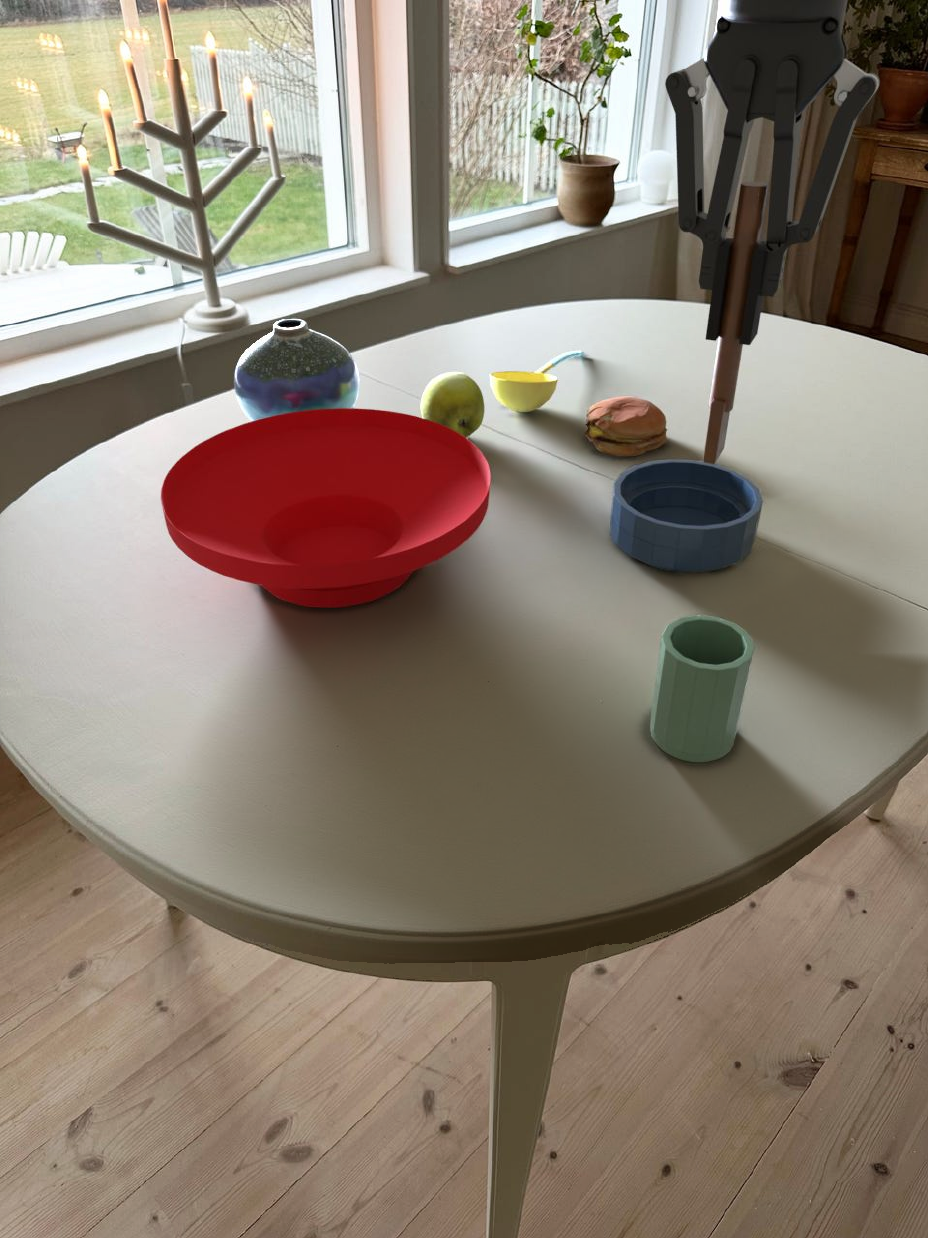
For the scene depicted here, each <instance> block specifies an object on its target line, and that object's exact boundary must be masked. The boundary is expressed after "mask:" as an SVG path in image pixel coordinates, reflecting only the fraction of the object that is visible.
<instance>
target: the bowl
mask: <svg viewBox="0 0 928 1238" xmlns="http://www.w3.org/2000/svg"><path fill="white" fill-rule="evenodd" d="M491 478H492V475H491V469H490V465H489V462H488V460H487V459H486V457H485V455H484V453H483V452H482V450H481V449H479V448H478V447H477V445H476V444H474V443H473V442H472V441H471V440H470V439H468V437H466V438H465V437H464V436H463V435H461V434H459V433H458V432H456V431H454V430H452V429H450V428H448V427H446V426H444V425H441V424H438V423H436V422H433V421H430V420H427V419H423V417H419V416H417V415H413V414H408V413H403V412H397V411H391V410H382V409H372V408H355V407H354V408H336V409H317V410H307V411H299V412H292V413H286V414H280V415H276V416H271V417H267V418H262V419H259V420H255V421H249V422H245V423H242V424H240V425H237V426H233V427H231V428H229V429H226V430H224V431H221V432H219V433H217V434H215V435H213V436H211V437H209V438H207V439H205V440H203V441H202V442H200V443H198V444H197V445H195V446H194V447H192V448H191V449H190V450H189V451H187V452H186V453H185V454H183V455H182V456H181V457H180V458H179V459H178V460H177V461H176V462H174V464H173V465H172V467H171V468H170V470H169V471H168V472H167V474H166V476H165V478H164V479H163V482H162V485H161V490H160V503H161V507H162V513H163V516H164V521H165V525H166V529H167V532H168V534H169V537H170V538H171V540H172V542H173V543H174V544H175V546H176V547H177V548H178V549H179V550H180V551H181V552H182V553H183V554H184V555H185V556H186V557H188V558H189V559H190V560H192V562H193V561H194V562H195V563H196V564H197V565H199V566H202V567H203V568H205V569H207V570H209V571H211V572H214V573H216V574H219V575H221V576H224V577H227V578H230V579H234V580H236V581H241V582H245V583H250V584H253V585H259V586H262V588H263V589H264V590H266V591H267V592H269V593H270V594H271V595H272V596H274V597H275V598H277V599H279V600H282V601H284V602H288V603H291V604H295V605H299V606H302V607H308V608H346V607H350V606H355V605H360V604H365V603H370V602H372V601H376V600H377V599H380V598H382V597H384V596H387V595H388V594H390V593H392V592H394V591H395V590H397V589H398V588H400V587H401V586H402V585H403V584H404V583H406V581H407V580H408V579H409V577H410V576H411V575H412V574H413V572H414V571H416V570H420V569H421V568H424V567H426V566H428V565H430V564H433V563H435V562H437V561H439V560H440V559H442V558H444V557H446V556H448V555H449V554H450V553H452V552H453V551H455V550H457V549H458V548H459V547H461V546H462V545H463V544H465V542H467V541H468V540H469V539H470V538H471V537H472V536H473V535H474V534H475V532H476V531H477V530H478V529H479V527H480V526H481V525H482V523H483V521H484V519H485V517H486V515H487V512H488V510H489V502H490V493H491V491H490V490H491V480H492V479H491Z"/></svg>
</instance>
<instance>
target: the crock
mask: <svg viewBox="0 0 928 1238" xmlns="http://www.w3.org/2000/svg"><path fill="white" fill-rule="evenodd" d="M755 650H756V646H755V643H754V640H753V639H752V636H751V635H750V633H748V632H747V631H746V630H745V629H744V628H742V627H741V626H740V625H739V624H737V623H735V622H732V621H730V620H727V619H724V618H721V617H719V616H713V615H704V614H694V615H687V616H682V617H678V618H677V619H675V620H673V621H672V622H670V623H668V624H667V625H666V627H665V628H664V631H663V633H662V635H661V640H660V646H659V653H658V662H657V669H656V676H655V682H654V689H653V690H654V691H653V697H652V704H651V711H650V719H649V720H650V724H649V732H650V736H651V738H652V740H653V742H654V743H655V744H656V746H657V747H659V749H661V751H663V752H664V753H666V754H667V755H669V756H671V757H673V758H675V759H678V760H680V761H681V760H682V761H685V762H690V763H709V762H713V761H716V760H720V759H721V758H723V757H725V756H727V754H729V752H730V751H731V750H732V748H733V747H734V744H735V740H736V736H737V732H738V728H739V723H740V719H741V714H742V709H743V705H744V701H745V697H746V692H747V687H748V684H749V683H748V682H749V678H750V673H751V668H752V663H753V660H754V654H755Z"/></svg>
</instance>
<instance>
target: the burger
mask: <svg viewBox="0 0 928 1238" xmlns="http://www.w3.org/2000/svg"><path fill="white" fill-rule="evenodd" d="M584 425H585V426H586V428H587V429H586V430H585V431H583V435H585V436H586V437H587V438H588V441H589V442H590V444H591V443H592V444H594V446H595V449H596V450H597V451H599V452H600V453H602V454H606V455H609V456H610V455H611V456H613V457H614V456H615V457H623V458H626V457H628V458H629V457H637V456H640V455H643V454H645V453H646V452H649V451H654V450H656V449H658V448H660V447H662V446H663V445H665V444H666V442H667V431H668V428H667V417H666V415H665V413H664V412H663V411H662V410H661V408H659V407H658V406H657V405H656V404H654V403H652V402H651V401H649V400H647V399H643V398H639V397H636V396H629V395H628V396H617V397H612V398H607V399H603V400H600V401H598V402H596V403H594V404H593V405H591V406H590V407H589V408H588V409H587V410H586V421H585V424H584Z"/></svg>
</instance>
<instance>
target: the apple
mask: <svg viewBox="0 0 928 1238" xmlns="http://www.w3.org/2000/svg"><path fill="white" fill-rule="evenodd" d="M420 413H421V416H422V417H421V418H423V419H427V420H430V421H433V422H436V423H438V424H441V425H444V426H446V427H448V428H450V429H452V430H454V431H456V432H458V433H459V434H461V435H463V436H464V437H465V438H468V437H471V435H472V434H473V433H475V432H476V431H477V430H479V428H480V427H481V425H482V423H483V421H484V416H485V400H484V395H483V392H482V390H481V388H480V386H479V385H478V383H477V382H476V381H475V380H474V379H473V378H472V377H470V376H469V375H467V374H466V373H464V372H461V371H451V372H445V373H442V374H440V375H438V376H436V377H434V378H433V379H431V381H430V382H429V383H428V384H427V386H426V387H425V389H424V391H423V393H422V396H421V400H420Z"/></svg>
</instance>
